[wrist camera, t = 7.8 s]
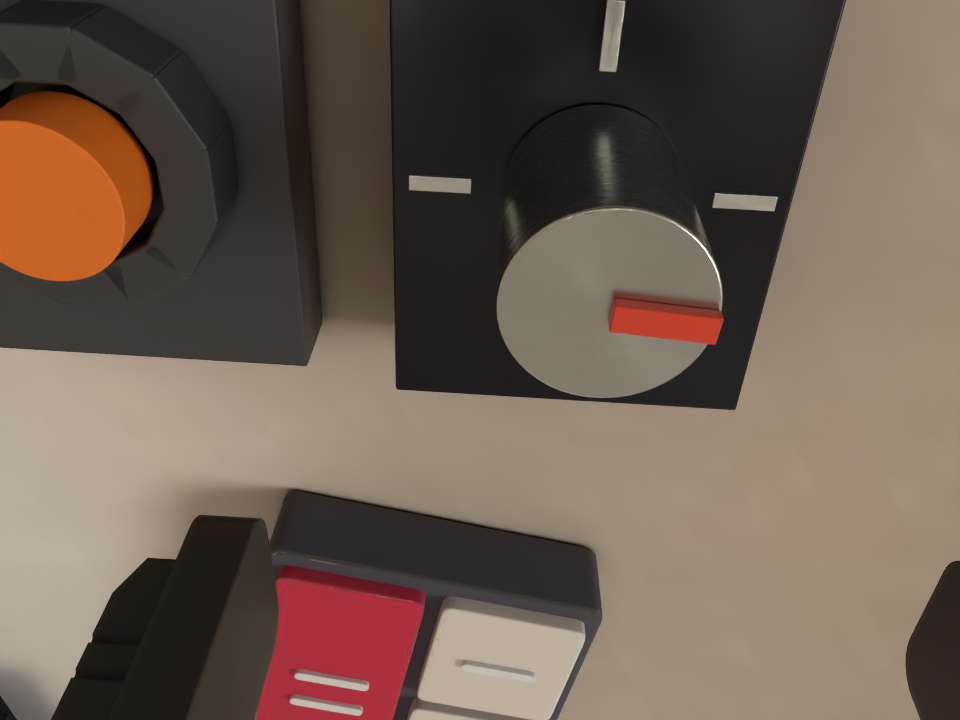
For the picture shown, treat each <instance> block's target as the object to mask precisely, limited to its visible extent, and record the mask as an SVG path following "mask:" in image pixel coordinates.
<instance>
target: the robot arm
mask: <svg viewBox="0 0 960 720" xmlns="http://www.w3.org/2000/svg"><path fill="white" fill-rule="evenodd" d="M278 617H279V604H278V595H277V589H276V583H275V577H274V570H273V564H272V558H271V552H270V546H269V539H268V533H267V528H266V524H265V522H264V520H263V519H261V518H246V517H228V516H211V515H199V516H197V517H196V518H195V519H194V521H193V522H192V524H191V526H190V528H189V530H188V533H187V535H186V537H185V540H184V542H183V544H182V547H181V549H180V551H179V554H178V556H177V558H176V560H174V559H157V558H147V559H146V560H145V561H144V562H143V563H142V564H141V565H140V566H139V567H138V568H137V569H136V570H135V571H134V572H133V573H132V574H131V575H130V576H129V577H128V578H127V579H126V580H125V581H124V582H123V583H122V584H121V585H120V586H119V587H118V588H117V589H116V590H115V591H114V592H113V593H112V595H111V597H110V599H109V601H108V603H107V605H106V607H105V610H104V612H103V614H102V616H101V618H100V620H99V622H98V624H97V626H96V628H95V630H94V632H93V639H92V642H91V643H88V645H87V647H86V649H85V651H84V653H83V655H82V657H81V659H80V661H79V663H78V665H77V667H76V674H75V677H74V678H71V680H70V682H69V684H68V686H67V688H66V690H65V692H64V694H63V696H62V698H61V700H60V702H59V704H58V706H57V708H56V710H55V713H54V715H53V717H52V719H51V720H255V716H256V713H257V709H258V706H259V702H260V698H261V695H262V691H263V688H264V684H265V681H266V677H267V674H268V670H269V666H270V663H271V659H272V656H273V652H274V648H275V643H276V637H277V629H278ZM906 675H907V681H908V686H909V690H910V693H911V696H912V699H913V701H914V704H915V707H916V709H917V712H918V714H919V717H920V719H921V720H960V561H954V562H952V563H950V564H949V565H948V566H947V567H946V569H945V570H944V572H943V574H942V576H941V578H940V580H939V582H938V584H937V586H936V588H935V590H934V592H933V594H932V596H931V598H930V600H929V602H928V604H927V606H926V608H925V610H924V612H923V614H922V616H921V618H920V619H919V621H918V623H917V625H916V627H915V629H914V631H913V633H912V635H911V637H910V640H909V642H908V646H907V652H906Z"/></svg>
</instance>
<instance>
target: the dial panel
mask: <svg viewBox="0 0 960 720" xmlns="http://www.w3.org/2000/svg"><path fill="white" fill-rule="evenodd" d="M845 2H846V0H389V6H390V67H391V128H392V188H393V249H394V310H395V370H396V388H397V389H398V390H415V391H431V392H448V393H464V394H481V395H497V396H513V397H530V398H546V399H563V400H579V401H595V402H612V403H628V404H645V405H661V406H678V407H694V408H710V409H727V410H735V409H736V406H737V402H738V399H739V395H740V391H741V387H742V384H743V380H744V376H745V373H746V369H747V365H748V362H749V358H750V354H751V350H752V347H753V343H754V339H755V336H756V332H757V328H758V324H759V321H760V317H761V313H762V310H763V306H764V302H765V299H766V295H767V291H768V287H769V284H770V280H771V276H772V273H773V269H774V265H775V261H776V258H777V254H778V250H779V247H780V243H781V239H782V236H783V232H784V228H785V224H786V221H787V217H788V213H789V210H790V206H791V202H792V198H793V195H794V191H795V187H796V184H797V180H798V176H799V173H800V169H801V165H802V161H803V158H804V154H805V150H806V147H807V143H808V139H809V135H810V132H811V128H812V124H813V121H814V117H815V113H816V110H817V106H818V102H819V98H820V95H821V91H822V87H823V84H824V80H825V76H826V73H827V69H828V65H829V61H830V58H831V54H832V50H833V47H834V43H835V39H836V35H837V32H838V28H839V24H840V21H841V17H842V13H843V10H844V6H845ZM584 105H610V106H616V107H621V108H624V109H627V110H630V111H633V112H635V113H637V114H639V115H641V116H643V117H645V118H646V119H648V120H649V121H651V122H652V123H654V124H655V125H656V126H657V127H658V128H659V129H660V130H661V131H662V132H663V133H664V134H665V135H666V137H667V138H668V139H669V140H670V142H671V144H672V145H673V147H674V149H675V151H676V153H677V156H678V158H679V160H680V163H681V166H682V169H683V172H684V174H685V177H686V180H687V183H688V186H689V189H690V191H691V194H692V197H693V200H694V203H695V205H696V208H697V211H698V214H699V217H700V219H701V222H702V225H703V228H704V231H705V233H706V236H707V239H708V242H709V245H710V247H711V250H712V253H713V256H714V259H715V262H716V264H717V267H718V270H719V273H720V278H721V282H722V291H723V302H722V311H721V313H722V316H723V319H724V320H723V323H722V326H721V329H720V332H719V336H718V339H717V342H716V344H714V345H713V344H708V345H707V347H706V348H705V349H704V351H703V352H702V353H701V355H700V356H699V357H698V358H697V359H696V360H695V361H694V362H693V363H692V364H691V365H690V366H689V367H688V368H687V369H685V370H684V371H683V372H682V373H680V374H679V375H677V376H676V377H674V378H673V379H671V380H669V381H668V382H666V383H664V384H662V385H660V386H658V387H656V388H653V389H650V390H647V391H644V392H641V393H637V394H633V395H629V396H623V397H615V398H593V397H584V396H578V395H573V394H570V393H566V392H563V391H560V390H558V389H555V388H553V387H550V386H548V385H547V384H545V383H543V382H541V381H539V380H538V379H537V378H535V377H534V376H532V375H531V374H530V373H528V372H527V371H526V370H525V369H524V368H523V367H522V366H521V365H520V364H519V363H518V362H517V361H516V359H515V358H514V357H513V356H512V354H511V353H510V351H509V350H508V348H507V346H506V345H505V343H504V340H503V338H502V335H501V333H500V330H499V326H498V321H497V312H496V301H497V283H498V265H499V247H500V229H501V211H502V193H503V181H504V176H505V171H506V168H507V165H508V163H509V160H510V158H511V156H512V154H513V152H514V150H515V149H516V147H517V146H518V145H519V143H520V142H521V140H522V139H523V138H524V137H525V136H526V135H527V134H528V133H529V132H530V131H531V130H532V129H533V128H534V127H536V126H537V125H538V124H539V123H541V122H542V121H544V120H546V119H547V118H549V117H551V116H553V115H555V114H557V113H559V112H561V111H564V110H567V109H570V108H574V107H579V106H584Z"/></svg>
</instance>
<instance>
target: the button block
mask: <svg viewBox="0 0 960 720" xmlns="http://www.w3.org/2000/svg"><path fill="white" fill-rule="evenodd" d="M42 91H52V92H60V93H66V94H70V95H74V96H77V97H80V98H83V99H85V100H88V101H90V102H92V103H94V104H96V105H98V106H99V107H101V108H102V109H104V110H106V111H107V112H109V113H110V114H111V115H112V116H114V117H115V118H116V119H118V120H119V121H120V122H121V123H122V124H123V125H124V126H125V127H126V128H127V129H128V130H129V132H130V133H131V134H132V135H133V136H134V138H135V139H136V141H137V142H138V144H139V145H140V146H141V148H142V150H143V152H144V154H145V156H146V158H147V161H148V163H149V166H150V169H151V173H152V178H153V187H154V188H153V201H152V206H151V209H150V212H149V214H148V216H147V218H146V219H145V221H144V223H143V224H142V225H141V226H140V228H139V229H138V230H137V231H136V233H135V234H134V235H133V236H132V238H131V239H130V240H129V242H128V243H127V244H126V245H125V247H124V248H123V249H122V250H121V252H120V253H119V254H118V255H117V257H116V258H115V259H114V260H113V262H112V263H111V264H110V265H109V266H107V267H106V268H105V269H104V270H102V271H100V272H99V273H97V274H95V275H93V276H90V277H87V278H84V279H80V280H74V281H51V280H44V279H40V278H35V277H32V276H29V275H26V274H23V273H21V272H19V271H16V270H14V269H12V268H10V267H8V266H7V265H5V264H3V263H1V262H0V347H1V348H18V349H34V350H51V351H67V352H84V353H100V354H117V355H133V356H150V357H166V358H183V359H199V360H215V361H232V362H248V363H265V364H281V365H298V366H307V364H308V362H309V359H310V356H311V353H312V350H313V347H314V345H315V342H316V339H317V336H318V333H319V330H320V327H321V325H322V312H321V299H320V285H319V271H318V258H317V244H316V230H315V217H314V203H313V190H312V176H311V162H310V149H309V135H308V122H307V108H306V94H305V81H304V67H303V53H302V40H301V26H300V13H299V0H0V108H2V107H3V106H4V105H6V104H7V103H9V102H10V101H11V100H13V99H15V98H17V97H19V96H22V95H25V94H29V93H34V92H42Z"/></svg>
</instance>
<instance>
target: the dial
mask: <svg viewBox="0 0 960 720" xmlns="http://www.w3.org/2000/svg"><path fill="white" fill-rule="evenodd" d="M722 302H723V291H722V282H721V278H720V273H719V270H718V267H717V264H716V262H715V259H714V256H713V253H712V250H711V247H710V245H709V242H708V239H707V236H706V233H705V231H704V228H703V225H702V222H701V219H700V217H699V214H698V211H697V208H696V205H695V203H694V200H693V197H692V194H691V191H690V189H689V186H688V183H687V180H686V177H685V174H684V172H683V169H682V166H681V163H680V160H679V158H678V156H677V153H676V151H675V149H674V147H673V145H672V144H671V142H670V140H669V139H668V138H667V137H666V135H665V134H664V133H663V132H662V131H661V130H660V129H659V128H658V127H657V126H656V125H655V124H654V123H652V122H651V121H649V120H648V119H646V118H645V117H643V116H641V115H639V114H637V113H635V112H633V111H630V110H627V109H624V108H621V107H616V106H610V105H584V106H579V107H574V108H570V109H567V110H564V111H561V112H559V113H557V114H555V115H553V116H551V117H549V118H547V119H546V120H544V121H542V122H541V123H539V124H538V125H537V126H536V127H534V128H533V129H532V130H531V131H530V132H529V133H528V134H527V135H526V136H525V137H524V138H523V139H522V140H521V142H520V143H519V145H518V146H517V147H516V149H515V150H514V152H513V154H512V156H511V158H510V160H509V163H508V165H507V168H506V171H505V176H504V181H503V193H502V211H501V229H500V247H499V265H498V283H497V301H496V312H497V321H498V326H499V330H500V333H501V335H502V338H503V340H504V343H505V345H506V346H507V348H508V350H509V351H510V353H511V354H512V356H513V357H514V358H515V359H516V361H517V362H518V363H519V364H520V365H521V366H522V367H523V368H524V369H525V370H526V371H527V372H528V373H530V374H531V375H532V376H534V377H535V378H537V379H538V380H539V381H541V382H543V383H545V384H547V385H548V386H550V387H553V388H555V389H558V390H560V391H563V392H566V393H570V394H573V395H578V396H584V397H593V398H615V397H623V396H629V395H633V394H637V393H641V392H644V391H647V390H650V389H653V388H656V387H658V386H660V385H662V384H664V383H666V382H668V381H669V380H671V379H673V378H674V377H676V376H677V375H679V374H680V373H682V372H683V371H684V370H685V369H687V368H688V367H689V366H690V365H691V364H692V363H693V362H694V361H695V360H696V359H697V358H698V357H699V356H700V355H701V353H702V352H703V351H704V349H705V348H706V347H707V345H708V344H713V345H714V344H716V342H717V339H718V336H719V332H720V329H721V326H722V323H723V320H724V319H723V316H722V313H721V311H722Z"/></svg>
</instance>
